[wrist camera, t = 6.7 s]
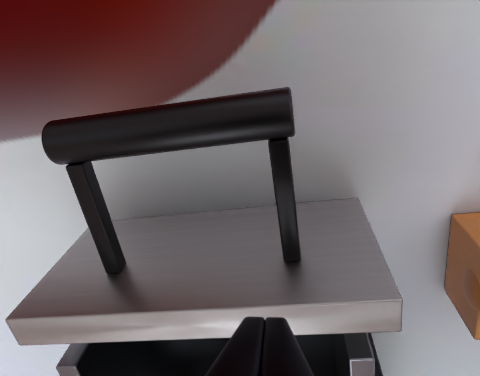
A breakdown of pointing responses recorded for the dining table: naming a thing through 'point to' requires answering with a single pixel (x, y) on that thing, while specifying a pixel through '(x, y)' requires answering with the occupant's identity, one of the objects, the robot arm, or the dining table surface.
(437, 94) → the dining table surface
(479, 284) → the bread loaf
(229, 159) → the dining table surface
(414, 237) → the dining table surface
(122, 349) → the grey pull-out drawer
